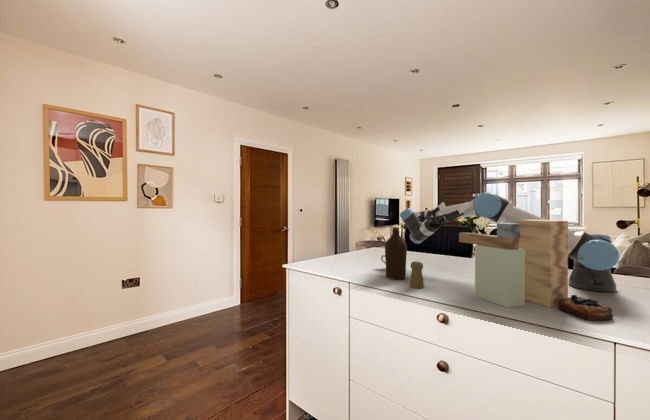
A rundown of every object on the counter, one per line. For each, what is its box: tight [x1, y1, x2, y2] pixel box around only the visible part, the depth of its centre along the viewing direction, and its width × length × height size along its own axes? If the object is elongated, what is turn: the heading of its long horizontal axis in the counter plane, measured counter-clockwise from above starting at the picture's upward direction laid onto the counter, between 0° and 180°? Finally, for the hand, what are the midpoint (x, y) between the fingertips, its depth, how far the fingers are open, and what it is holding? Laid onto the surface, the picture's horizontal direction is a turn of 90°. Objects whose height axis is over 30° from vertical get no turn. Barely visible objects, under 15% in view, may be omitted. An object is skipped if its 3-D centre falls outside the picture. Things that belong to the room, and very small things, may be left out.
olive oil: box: [384, 226, 408, 281], centre depth 140 cm, size 11×11×25 cm
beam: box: [458, 222, 520, 250], centre depth 111 cm, size 5×24×9 cm, turn 17°
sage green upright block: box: [474, 244, 526, 309], centre depth 105 cm, size 8×14×20 cm, turn 18°
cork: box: [409, 260, 425, 290], centre depth 124 cm, size 6×6×11 cm
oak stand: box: [517, 219, 569, 308], centre depth 105 cm, size 9×12×30 cm
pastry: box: [557, 294, 614, 322], centre depth 92 cm, size 11×12×6 cm
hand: (456, 204), depth 130 cm, fingers open, 13 cm apart
